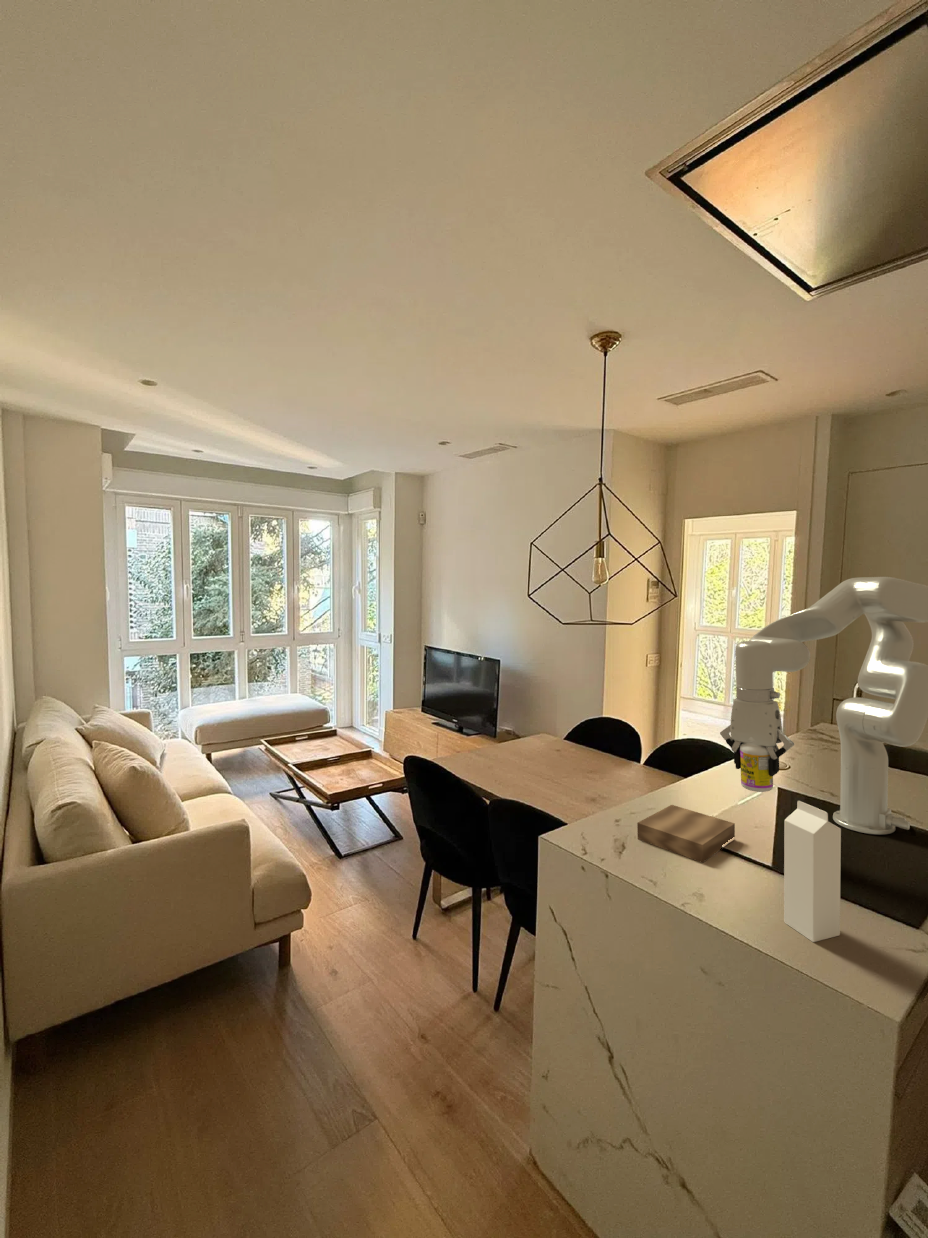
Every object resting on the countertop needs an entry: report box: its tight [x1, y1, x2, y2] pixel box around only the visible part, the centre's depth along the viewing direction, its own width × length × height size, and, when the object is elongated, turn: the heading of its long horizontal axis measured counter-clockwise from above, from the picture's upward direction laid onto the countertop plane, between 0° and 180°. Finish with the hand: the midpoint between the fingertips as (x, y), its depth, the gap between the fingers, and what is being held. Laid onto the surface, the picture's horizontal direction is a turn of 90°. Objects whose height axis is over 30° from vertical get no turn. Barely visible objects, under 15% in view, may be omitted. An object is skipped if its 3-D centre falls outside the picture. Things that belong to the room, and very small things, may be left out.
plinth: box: [636, 804, 736, 863], centre depth 132 cm, size 16×16×4 cm
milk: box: [783, 800, 842, 943], centre depth 97 cm, size 6×6×22 cm
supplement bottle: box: [740, 737, 774, 793], centre depth 128 cm, size 7×7×13 cm
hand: (756, 770), depth 128 cm, fingers closed on supplement bottle, 6 cm apart
